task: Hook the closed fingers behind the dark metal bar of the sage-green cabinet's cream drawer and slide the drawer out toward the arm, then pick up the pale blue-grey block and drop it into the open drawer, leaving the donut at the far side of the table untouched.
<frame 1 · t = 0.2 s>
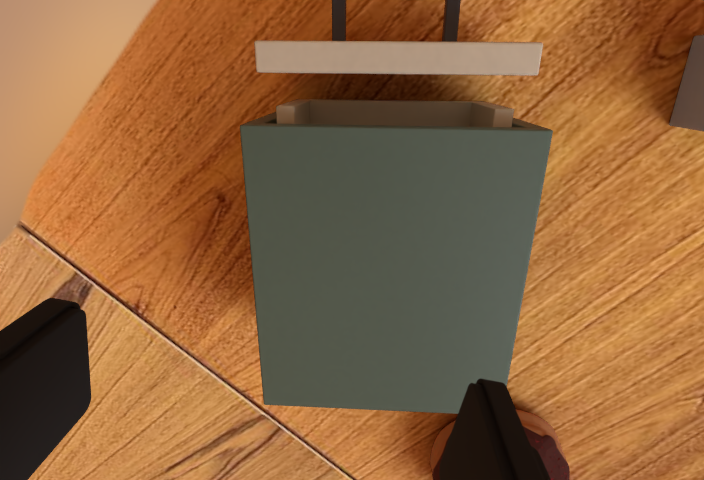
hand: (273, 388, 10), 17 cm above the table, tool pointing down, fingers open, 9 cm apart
drawer: (390, 117, 20), point 4 cm above the table, slide at 2.0 cm
cabinet: (383, 231, 27), on the table
donut: (490, 446, 33), on the table
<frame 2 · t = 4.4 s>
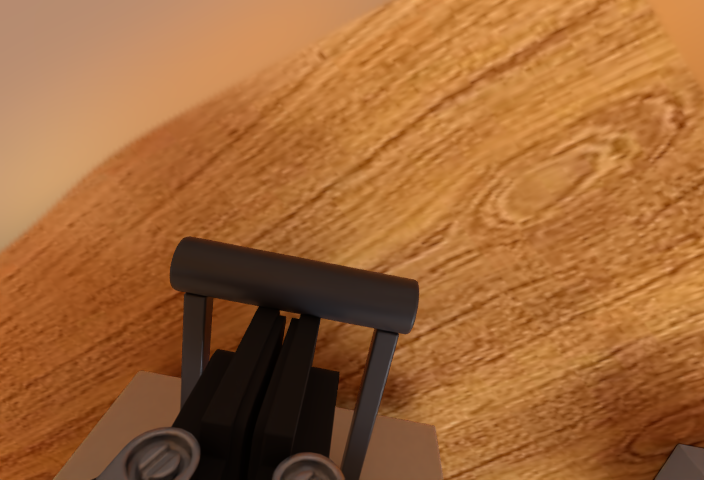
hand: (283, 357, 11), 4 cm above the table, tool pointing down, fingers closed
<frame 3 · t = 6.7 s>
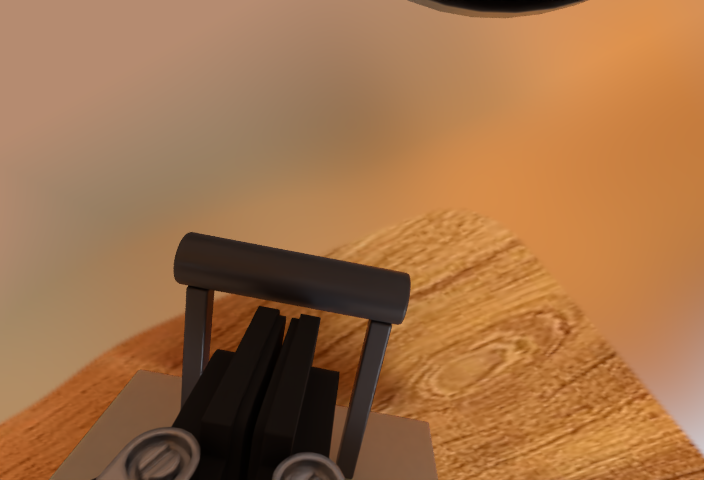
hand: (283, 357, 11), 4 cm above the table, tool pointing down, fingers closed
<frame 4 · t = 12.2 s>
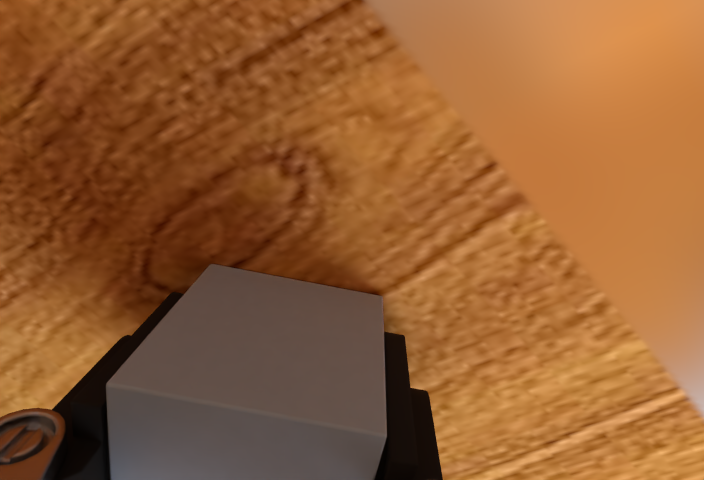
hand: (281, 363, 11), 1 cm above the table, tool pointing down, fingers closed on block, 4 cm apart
block: (286, 350, 12), on the table, touching gripper
when the fingers open (8 cm above the table, at t = 18.3 s): block drops 6 cm, resting on drawer.
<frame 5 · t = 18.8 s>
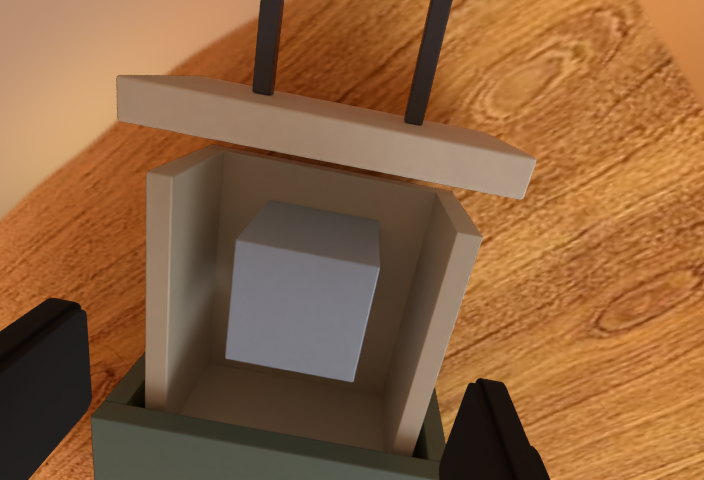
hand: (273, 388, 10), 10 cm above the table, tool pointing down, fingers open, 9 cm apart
block: (316, 259, 18), point 2 cm above the table, touching drawer
drawer: (322, 199, 15), point 4 cm above the table, slide at 9.8 cm, touching block
cabinet: (288, 433, 24), on the table
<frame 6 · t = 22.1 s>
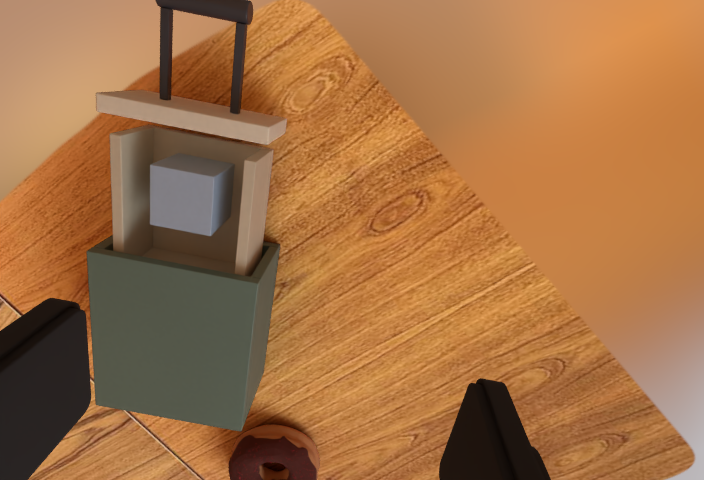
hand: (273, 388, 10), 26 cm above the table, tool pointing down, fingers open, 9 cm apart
block: (205, 185, 34), point 2 cm above the table, touching drawer
drawer: (198, 150, 31), point 4 cm above the table, slide at 9.8 cm, touching block
cabinet: (206, 300, 40), on the table
donut: (278, 450, 47), on the table
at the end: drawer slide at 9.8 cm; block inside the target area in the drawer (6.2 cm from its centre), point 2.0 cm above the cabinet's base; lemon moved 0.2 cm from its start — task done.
